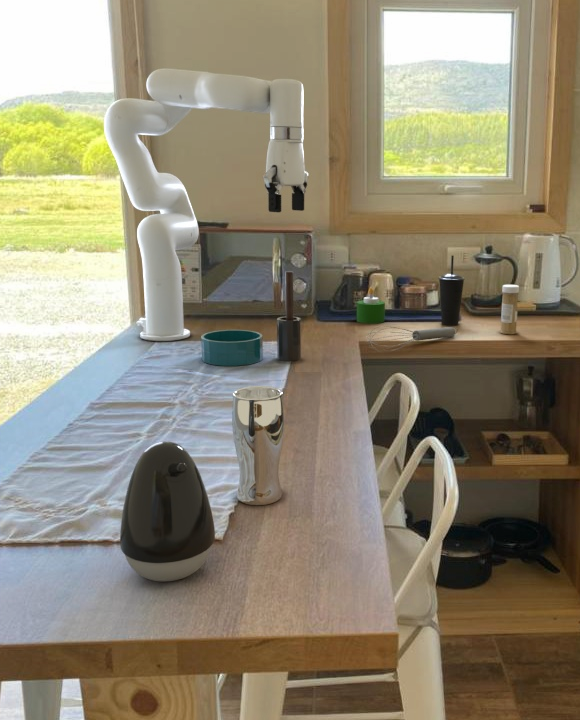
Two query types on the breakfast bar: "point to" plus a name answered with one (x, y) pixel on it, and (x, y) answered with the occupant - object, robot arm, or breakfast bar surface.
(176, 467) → the black egg-shaped body
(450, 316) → the drinking cup
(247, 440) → the beer glass
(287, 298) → the wooden muddler
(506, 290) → the sprinkles bottle
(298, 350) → the crock
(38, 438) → the breakfast bar surface
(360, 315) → the candle
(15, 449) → the breakfast bar surface
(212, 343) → the bowl
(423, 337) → the kitchen whisk
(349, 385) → the breakfast bar surface
